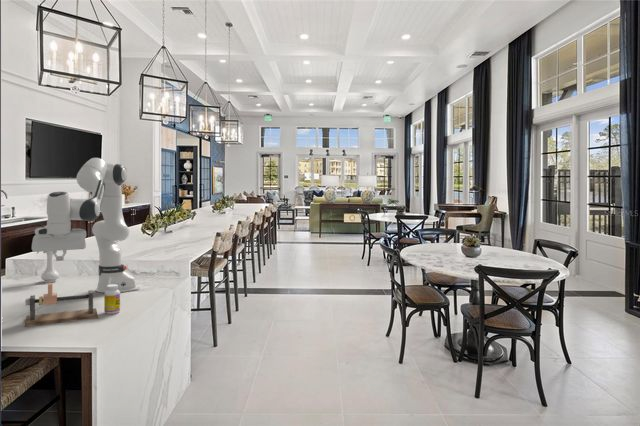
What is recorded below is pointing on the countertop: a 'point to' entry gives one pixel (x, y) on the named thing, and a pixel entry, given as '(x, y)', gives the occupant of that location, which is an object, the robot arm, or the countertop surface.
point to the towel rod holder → (60, 314)
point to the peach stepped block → (50, 296)
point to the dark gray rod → (57, 299)
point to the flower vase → (49, 269)
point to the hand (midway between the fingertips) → (59, 260)
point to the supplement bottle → (112, 299)
